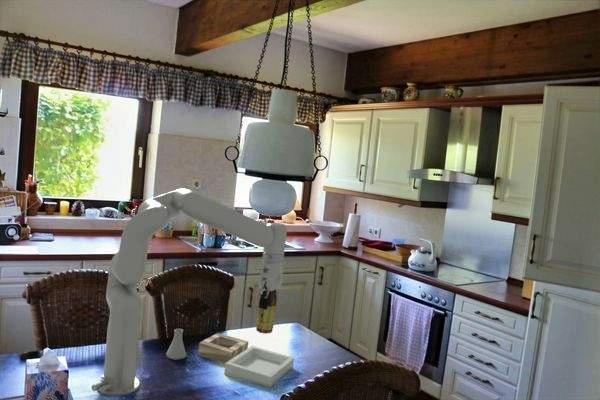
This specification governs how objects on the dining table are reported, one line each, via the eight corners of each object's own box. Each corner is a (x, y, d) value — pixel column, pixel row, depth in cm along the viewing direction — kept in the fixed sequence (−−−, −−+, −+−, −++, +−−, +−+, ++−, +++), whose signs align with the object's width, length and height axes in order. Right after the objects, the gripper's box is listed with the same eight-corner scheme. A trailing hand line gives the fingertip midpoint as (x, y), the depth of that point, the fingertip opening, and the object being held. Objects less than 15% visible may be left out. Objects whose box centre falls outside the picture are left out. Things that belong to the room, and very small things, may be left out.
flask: (174, 361, 181) (177, 335, 180) (162, 355, 185) (164, 329, 184) (190, 357, 186) (192, 331, 185) (177, 350, 191) (180, 325, 190)
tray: (269, 388, 169) (271, 377, 168) (224, 374, 176) (225, 363, 175) (292, 368, 187) (294, 357, 187) (250, 355, 194) (252, 345, 194)
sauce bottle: (254, 328, 182) (260, 275, 181) (270, 328, 184) (277, 276, 183) (257, 334, 176) (264, 279, 175) (274, 334, 178) (281, 280, 177)
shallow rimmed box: (230, 365, 183) (231, 352, 183) (198, 355, 188) (199, 342, 188) (247, 353, 195) (248, 341, 195) (216, 344, 200) (217, 332, 200)
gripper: (272, 263, 168) (265, 314, 170) (292, 256, 184) (286, 303, 186) (252, 258, 171) (246, 309, 173) (274, 252, 187) (268, 298, 189)
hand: (267, 305), depth 179 cm, fingers closed on sauce bottle, 6 cm apart
